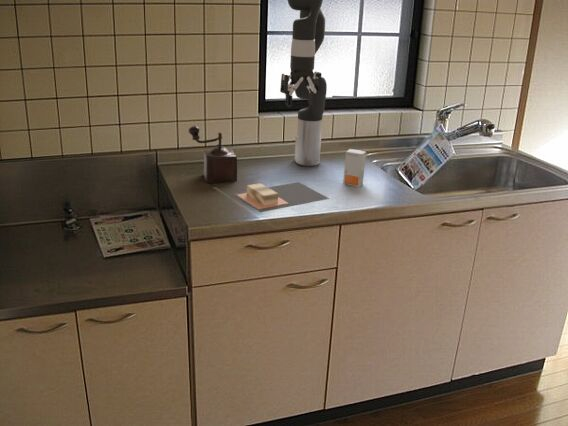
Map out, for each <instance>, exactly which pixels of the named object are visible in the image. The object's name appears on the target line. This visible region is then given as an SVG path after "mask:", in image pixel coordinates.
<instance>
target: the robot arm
mask: <svg viewBox="0 0 568 426" xmlns="http://www.w3.org/2000/svg"><path fill="white" fill-rule="evenodd" d="M323 1H324V0H287V2H288V6H289V7H290V8H291V9H292V10H294V11H299V18H297V19H295V20H293V22H292V37H291V39H292V40H291V43H290V44H291V46H290V66H289V67H290V73H281V78H280V87H279V89H280V90H279V92H280V93H282V94H284V95H285V105H286V107H288V108H292V107H293V94H294V92H295V96H296V98H298V99H300V100H304V101H305V100H306V101H307V102H308V107H305V108H302V109H299V110H298V111H297V122H296V123H297V126H296V128H297V130H296V131H297V132H296V136H295V140H294V141H295V142H294V143H295V144H294V161H295V163H296V164H297V165H300V166H304V167H305V166H307V167H309V166H310V167H311V166H313V167H315V166H317V165H319V164H320V161H321V159H320V158H321V147H322V146H321V144H322V132H323V131H322V130H323V129H322V128H323V116H324V112H325V108H326V98H327V92H328V91H327V90H328V89H327V85H328V84H327V81H326V78H325V77H323V76H322V73H321V72H320V71H314V69H315V59H316V58H315V57H316V54H317V52H318V50H319V49H320V48H321V46H322V44H323V42H324V40H325V32H326V18H325V17H326V16H325V14H324V12H323V10H322V8H321V7H322V4H323Z"/></svg>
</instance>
